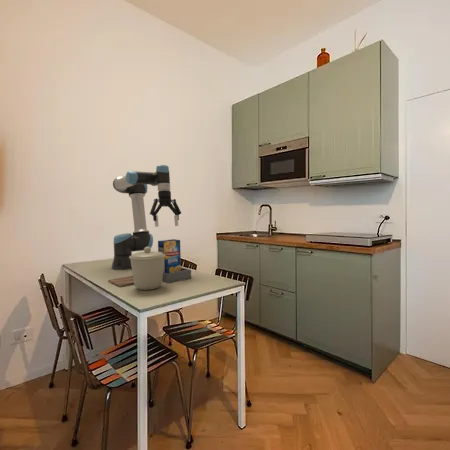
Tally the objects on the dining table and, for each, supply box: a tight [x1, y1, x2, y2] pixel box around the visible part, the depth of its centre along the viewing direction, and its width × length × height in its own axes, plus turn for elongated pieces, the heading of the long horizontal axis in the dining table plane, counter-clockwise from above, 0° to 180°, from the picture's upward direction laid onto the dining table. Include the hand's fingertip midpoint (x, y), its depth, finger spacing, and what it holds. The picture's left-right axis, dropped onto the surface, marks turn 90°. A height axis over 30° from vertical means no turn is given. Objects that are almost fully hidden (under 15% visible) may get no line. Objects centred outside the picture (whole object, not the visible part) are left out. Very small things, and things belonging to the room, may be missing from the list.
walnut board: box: [107, 275, 135, 288], centre depth 161 cm, size 16×14×1 cm
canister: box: [129, 247, 166, 291], centre depth 149 cm, size 18×18×21 cm
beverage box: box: [157, 239, 182, 273], centre depth 170 cm, size 7×11×22 cm, turn 132°
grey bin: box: [162, 266, 192, 284], centre depth 171 cm, size 20×16×5 cm
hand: (167, 226), depth 174 cm, fingers open, 13 cm apart
